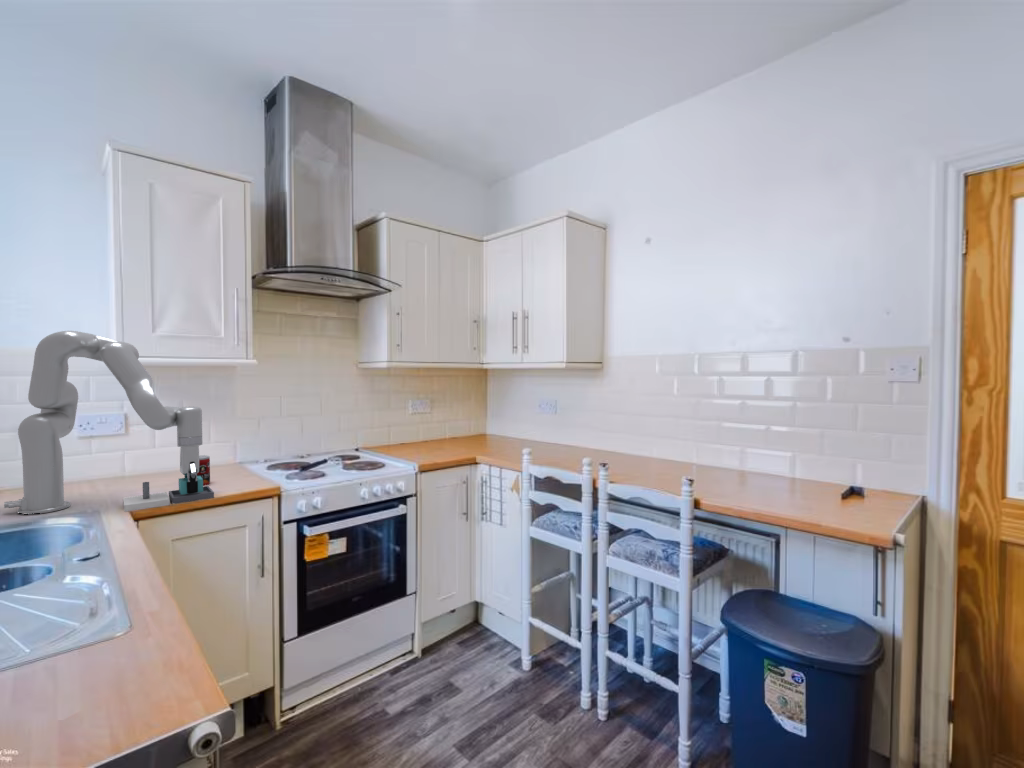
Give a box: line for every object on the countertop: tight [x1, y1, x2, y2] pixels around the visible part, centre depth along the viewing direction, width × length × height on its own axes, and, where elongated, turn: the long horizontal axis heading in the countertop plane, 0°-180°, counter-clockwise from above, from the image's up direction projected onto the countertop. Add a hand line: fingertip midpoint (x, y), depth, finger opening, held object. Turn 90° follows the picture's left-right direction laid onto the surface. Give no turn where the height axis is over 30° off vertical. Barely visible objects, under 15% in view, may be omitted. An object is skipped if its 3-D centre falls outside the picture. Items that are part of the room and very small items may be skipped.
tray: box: [168, 485, 215, 505], centre depth 175 cm, size 12×12×2 cm
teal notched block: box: [178, 476, 204, 495], centre depth 175 cm, size 7×7×4 cm
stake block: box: [122, 481, 171, 512], centre depth 166 cm, size 12×12×8 cm
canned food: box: [197, 454, 211, 487], centre depth 194 cm, size 8×8×11 cm
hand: (191, 490), depth 175 cm, fingers open, 6 cm apart
